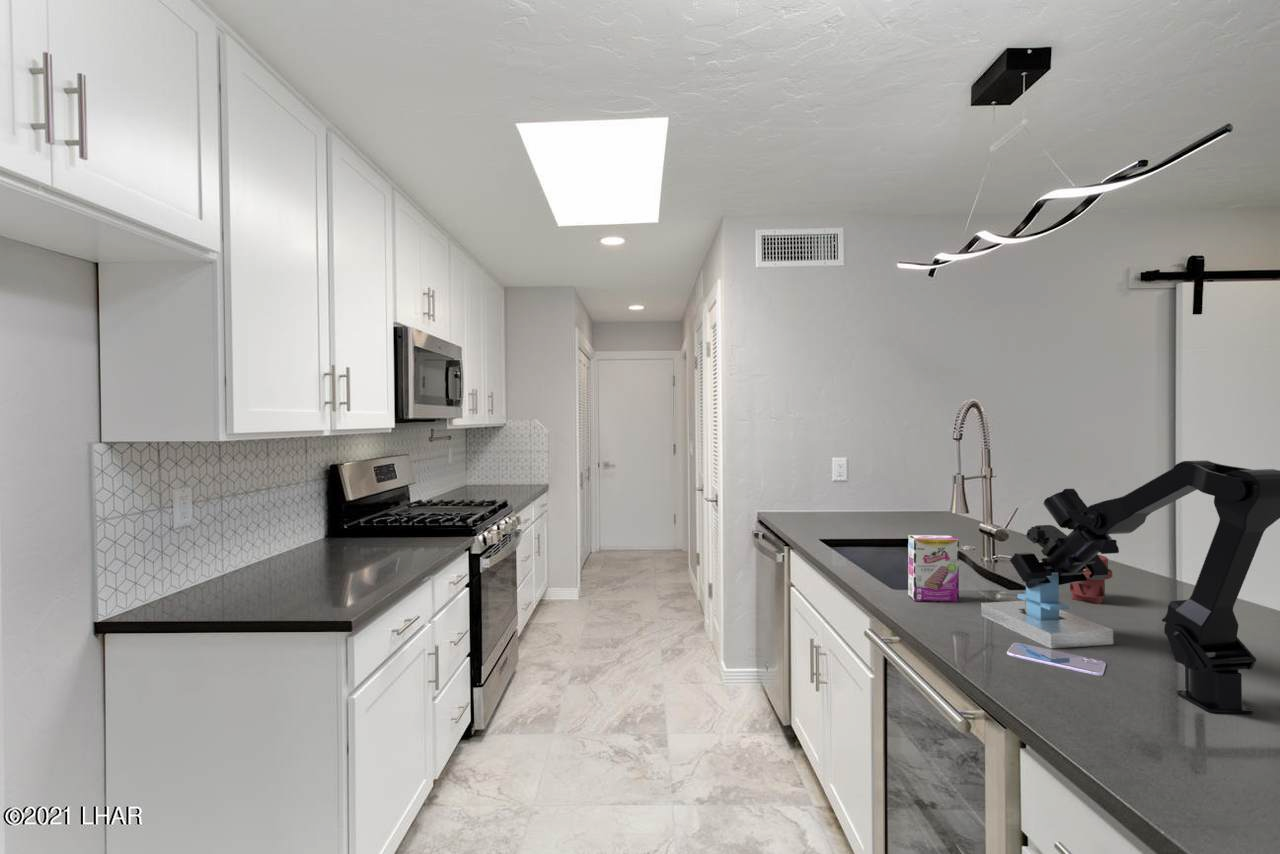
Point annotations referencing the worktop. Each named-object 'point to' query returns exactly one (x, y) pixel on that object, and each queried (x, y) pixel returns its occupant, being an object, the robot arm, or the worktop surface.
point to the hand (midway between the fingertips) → (1037, 585)
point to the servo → (1044, 600)
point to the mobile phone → (1057, 658)
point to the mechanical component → (1090, 586)
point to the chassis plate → (1048, 626)
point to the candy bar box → (933, 568)
